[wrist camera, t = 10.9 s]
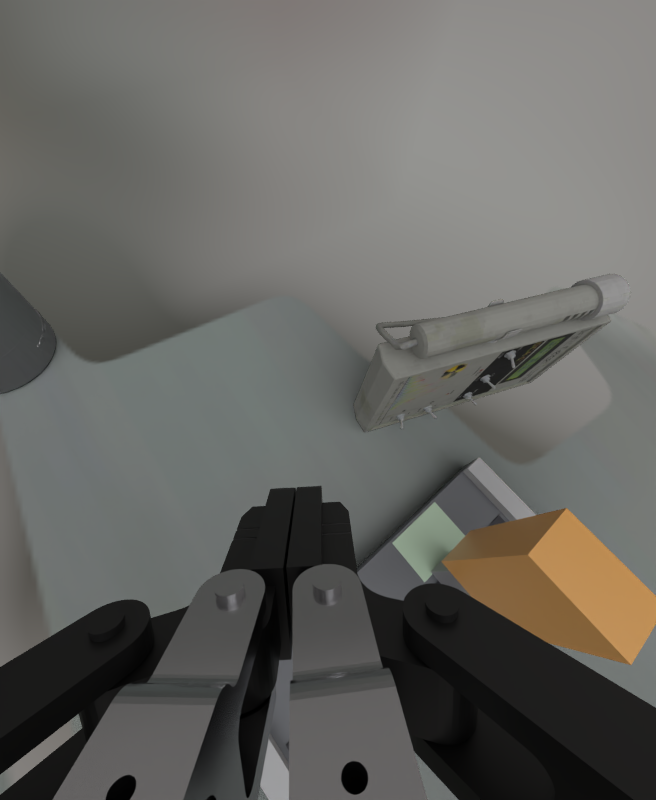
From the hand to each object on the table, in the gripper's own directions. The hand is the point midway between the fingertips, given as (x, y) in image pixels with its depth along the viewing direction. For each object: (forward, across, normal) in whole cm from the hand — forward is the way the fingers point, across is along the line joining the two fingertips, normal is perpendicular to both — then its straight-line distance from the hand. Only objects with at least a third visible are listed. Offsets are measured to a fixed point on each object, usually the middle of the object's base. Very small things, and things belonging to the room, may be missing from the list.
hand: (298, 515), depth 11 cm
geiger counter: (+28, -16, +2) cm, 32 cm away
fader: (+14, -10, +14) cm, 22 cm away
